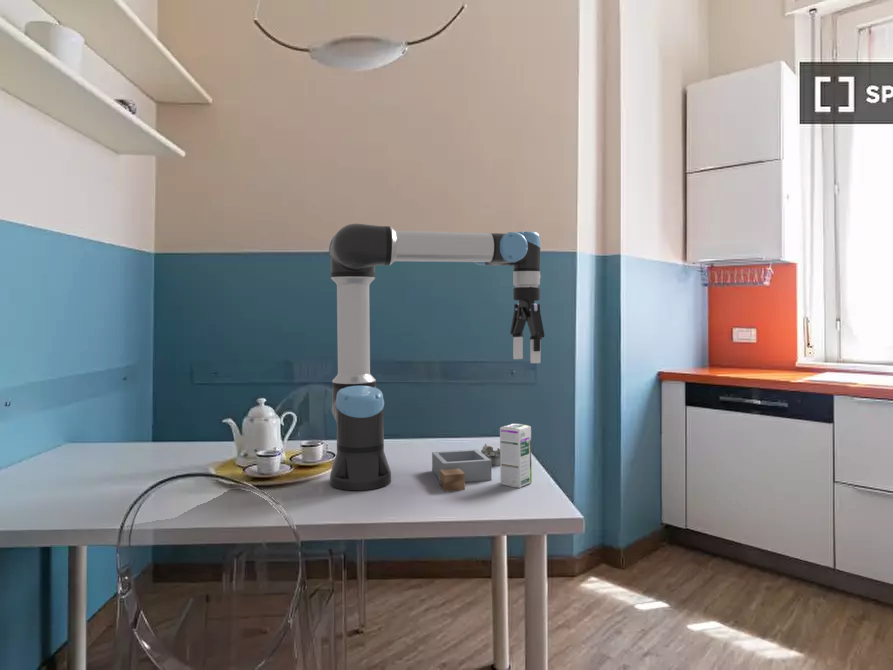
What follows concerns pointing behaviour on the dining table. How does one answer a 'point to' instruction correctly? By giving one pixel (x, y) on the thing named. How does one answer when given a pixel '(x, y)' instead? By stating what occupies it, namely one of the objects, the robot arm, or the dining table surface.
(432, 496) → the dining table surface
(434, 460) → the socket
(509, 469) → the syrup box
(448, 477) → the walnut stub
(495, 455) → the egg carton
